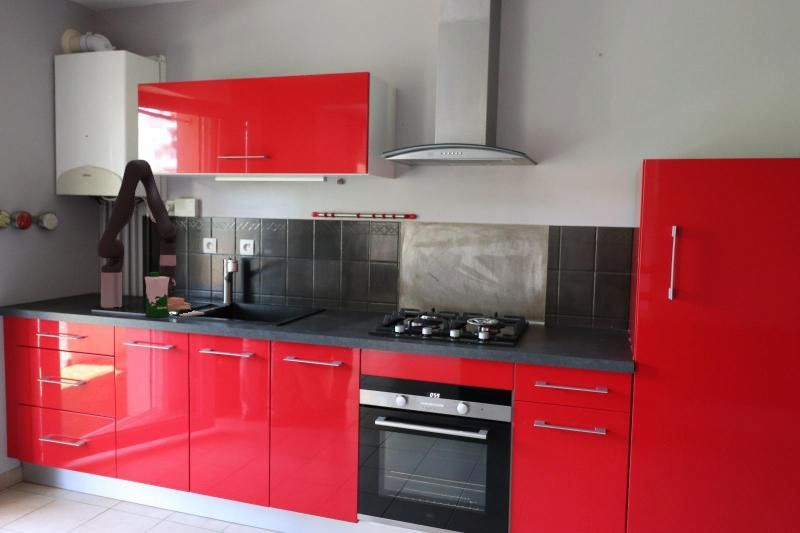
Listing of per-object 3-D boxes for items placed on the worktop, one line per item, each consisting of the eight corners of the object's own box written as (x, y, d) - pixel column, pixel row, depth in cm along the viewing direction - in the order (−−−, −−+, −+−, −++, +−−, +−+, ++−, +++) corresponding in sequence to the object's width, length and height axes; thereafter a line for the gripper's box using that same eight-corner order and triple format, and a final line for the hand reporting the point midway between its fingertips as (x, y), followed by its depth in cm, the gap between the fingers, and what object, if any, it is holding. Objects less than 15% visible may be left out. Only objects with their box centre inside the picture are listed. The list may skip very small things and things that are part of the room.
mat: (168, 314, 309) (168, 312, 309) (190, 311, 318) (190, 310, 318) (181, 316, 302) (181, 314, 302) (204, 314, 312) (204, 312, 312)
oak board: (153, 311, 316) (153, 302, 316) (175, 308, 326) (175, 300, 325) (168, 313, 309) (168, 305, 308) (190, 311, 318) (190, 303, 318)
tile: (163, 303, 316) (163, 297, 316) (174, 302, 321) (174, 296, 320) (173, 304, 311) (173, 299, 311) (184, 303, 316) (184, 298, 316)
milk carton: (159, 314, 307) (159, 271, 305) (171, 316, 302) (171, 272, 300) (142, 316, 299) (142, 272, 298) (155, 318, 294) (155, 273, 293)
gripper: (153, 263, 319) (152, 299, 320) (169, 265, 311) (168, 302, 312) (166, 263, 325) (166, 298, 326) (182, 264, 317) (182, 300, 318)
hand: (167, 299), depth 319 cm, fingers closed
